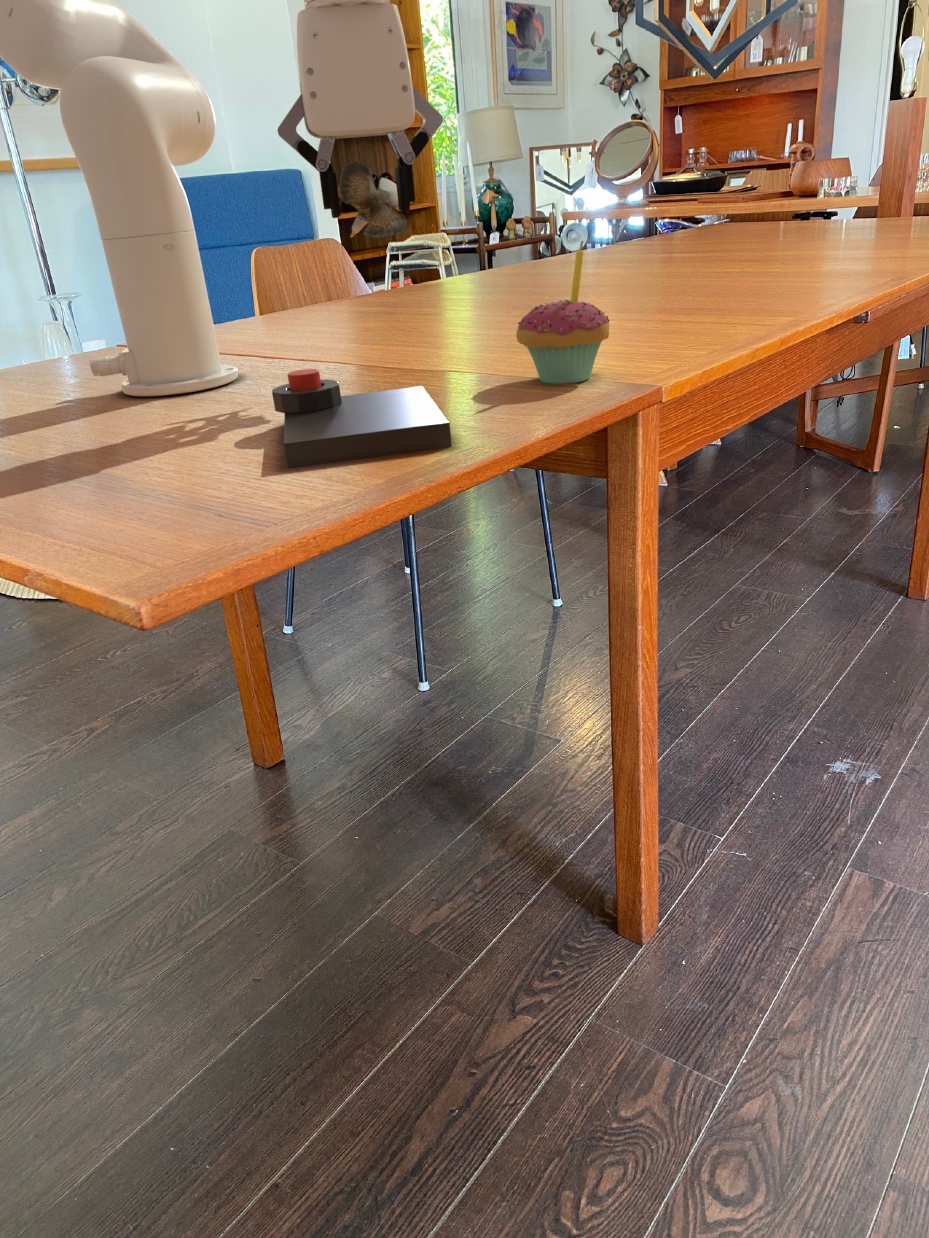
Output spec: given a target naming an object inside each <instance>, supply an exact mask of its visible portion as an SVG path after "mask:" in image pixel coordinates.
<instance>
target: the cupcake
mask: <svg viewBox="0 0 929 1238" xmlns="http://www.w3.org/2000/svg"><path fill="white" fill-rule="evenodd" d="M584 242H585V241H584V240H581V241H580V245H579V249H577V250H576V251H575V257H574V266H573V276H572V284H571V293H570V300H569V299H564V300H558V301H555V302H554V301H552V302H550V303H547V302H545V303H544V304H539V306H535V307H533V308H532V309H531V310H530V311H529V312H528V313H526V315H523V317H522V318H521V320H520V321H519V322H517V325H518V326H517V328H516V329H517V330H516V341H517V343H519V344H520V345H523V346H524V347H526V348H527V350H528V352H529V354H530V356H531V358H532V361H533V363H534V366H535V369H536V372H537V374H538V377H539V380H540V382H542V383H545V384H553V385H555V384H558V385H559V384H572V383H574V384H576V383H580V382H585V381H587V380H589V379H590V378H591V377H592V374H593V368H594V365H595V362H596V358H597V354H598V351H599V350H600V346H601V344H602V342H603V341H605V340H607V339H609V337H610V319H609V316H608V315H605V311H602V310H601V309H600V308H598V307H597V306H595V305H594V304H591V303H590V302H584V301H579V295H580V294H579V293H580V285H581V278H582V270H583V269H582V268H583V260H584V250H583V244H584Z"/></svg>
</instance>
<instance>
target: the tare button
mask: <svg viewBox="0 0 929 1238" xmlns="http://www.w3.org/2000/svg"><path fill="white" fill-rule="evenodd" d="M286 375H287V380H288V384H289V387H290V391H302V390H310V389H315V388H319V387H321V380H322V379H321V374H320V370H319V369H316V368H306V369H297V370H293V371H290V372H288V373H287V374H286Z"/></svg>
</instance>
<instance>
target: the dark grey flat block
mask: <svg viewBox="0 0 929 1238" xmlns="http://www.w3.org/2000/svg"><path fill="white" fill-rule="evenodd" d="M320 380H321V387H319V388H315V389H310V390H302V391H290V387H289V383H286V384H282V385H279V386H276V387H274V388H272V391H271V395H272V399H273V405H274V411H275V412H277V413H282V414H284V419H283V420H284V421H283V422H284V425H283V449H284V454H285V460H286V467H287V469H296V468H303V467H310V466H312V467H313V466H318V465H319V466H320V465H326V464H336V463H341V462H348V461H356V460H364V459H371V458H380V457H386V456H387V457H388V456H394V455H402V454H409V453H417V452H424V451H431V450H432V451H433V450H439V449H448V448H452V447H453V444H452V433H451V423H450V421H449V420H448V419H447V418H446V416H445V415H444V413H443V412H442V411H441V409H440V408H439V407H438V405H437V404H436V402H435V401H434V400H433V398H432V397H431V396H430V394H429V393H428V391H427V390H426V389H425V387H424V386H423V385H419V386H411V387H405V388H395V389H387V390H381V391H379V390H378V391H371V392H363V393H362V392H361V393H356V394H348V395H341V389H340V383H339V380H333V379H320Z"/></svg>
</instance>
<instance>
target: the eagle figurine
mask: <svg viewBox="0 0 929 1238" xmlns="http://www.w3.org/2000/svg"><path fill="white" fill-rule="evenodd" d="M337 188H338V196H339V199H341V202H343V203H344V204H347V205H351V206H353V208H354V209H355V210H357V214H356V217H355V219H354V221H353V223H352V226H351V233H350V238H353V237H354V236H355V235H356V234H358V233H360V232H361V231H362V230H363V228H364V227H365V226H366V225H367V227H366V229H365V230H364V232H363V235H364V236H368V237H370V238H372V237H374V238H377V239H378V238H386V237H388V236H389V237H392V236H393V235H399V234H402V233H404V232H405V231H406V229H407V227H408V224H407V219H406V215H404V213H403V212H401V211H400V210H399V209H397V208H399V206H398V196H397V186H396V182H394V181H392V180H390V179H388V178H386V177H380V179H379V182H378V188H377V187H376V184H375V180H374V178H373V172H372V169H371V168H369V167H367V166H366V165H363V164H361V163H359V162H358V161H356V160H351V161H349V162H348V163H347V164H345V166H343V167H342V170H341V173H340V177H339V185H338V187H337Z"/></svg>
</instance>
